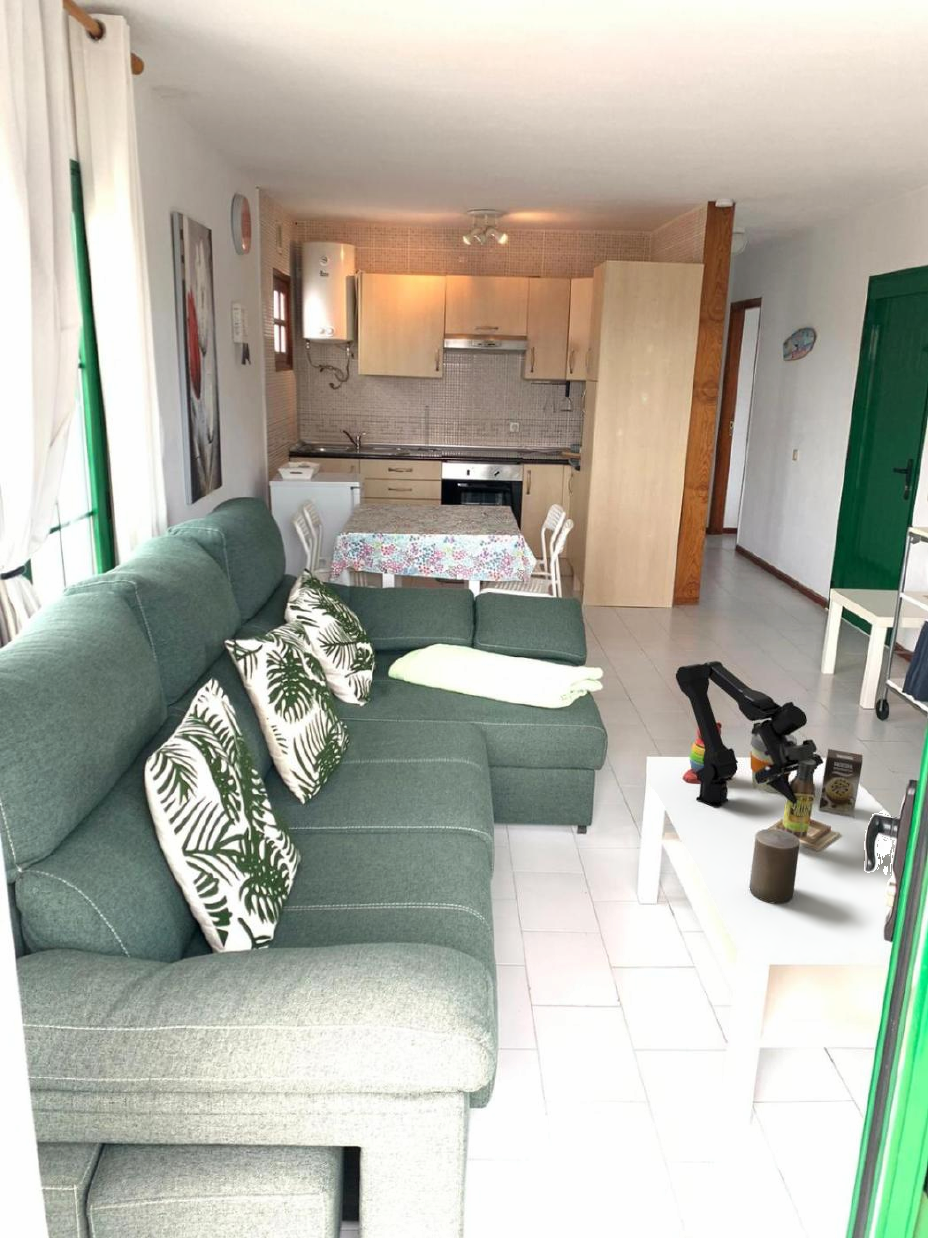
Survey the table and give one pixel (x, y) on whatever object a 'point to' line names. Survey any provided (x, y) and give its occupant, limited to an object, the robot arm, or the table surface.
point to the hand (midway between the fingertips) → (804, 800)
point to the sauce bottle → (800, 800)
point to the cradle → (814, 834)
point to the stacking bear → (697, 758)
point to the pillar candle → (774, 865)
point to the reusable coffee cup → (762, 760)
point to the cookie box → (840, 782)
